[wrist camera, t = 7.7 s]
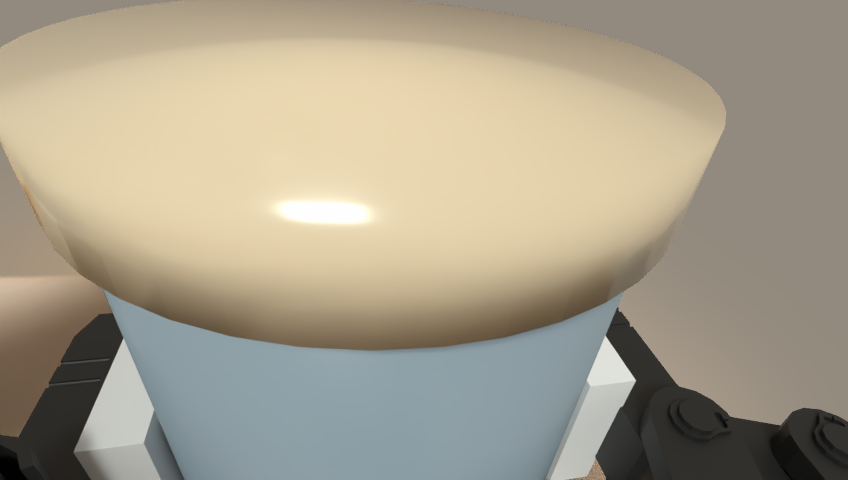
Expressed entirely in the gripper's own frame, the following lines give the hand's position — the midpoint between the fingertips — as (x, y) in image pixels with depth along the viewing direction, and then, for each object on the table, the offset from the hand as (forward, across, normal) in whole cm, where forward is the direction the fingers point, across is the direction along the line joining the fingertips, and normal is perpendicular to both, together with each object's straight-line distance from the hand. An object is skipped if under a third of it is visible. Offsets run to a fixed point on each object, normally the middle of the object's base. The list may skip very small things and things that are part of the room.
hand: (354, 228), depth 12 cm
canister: (-5, 0, -7) cm, 9 cm away
